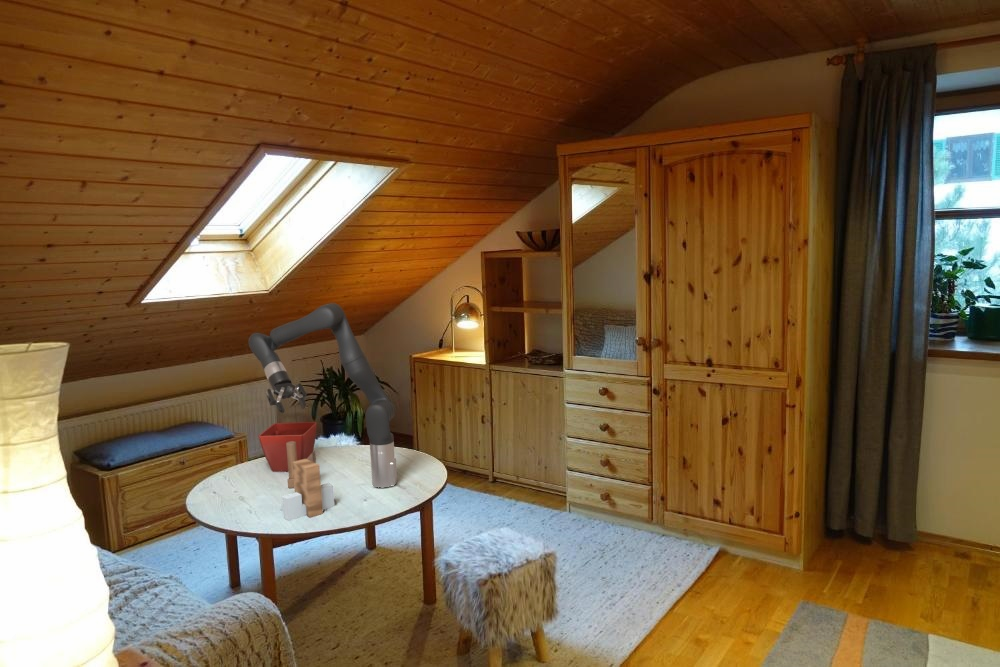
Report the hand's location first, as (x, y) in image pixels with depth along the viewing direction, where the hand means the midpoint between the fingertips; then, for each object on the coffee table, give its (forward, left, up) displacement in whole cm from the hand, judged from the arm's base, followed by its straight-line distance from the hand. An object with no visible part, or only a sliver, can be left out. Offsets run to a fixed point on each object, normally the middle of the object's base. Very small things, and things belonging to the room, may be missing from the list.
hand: (293, 409), depth 269 cm
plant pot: (+13, -31, -33) cm, 47 cm away
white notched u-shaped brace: (-9, +19, -33) cm, 39 cm away
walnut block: (-9, +19, -33) cm, 39 cm away
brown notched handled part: (+1, -7, -33) cm, 34 cm away
